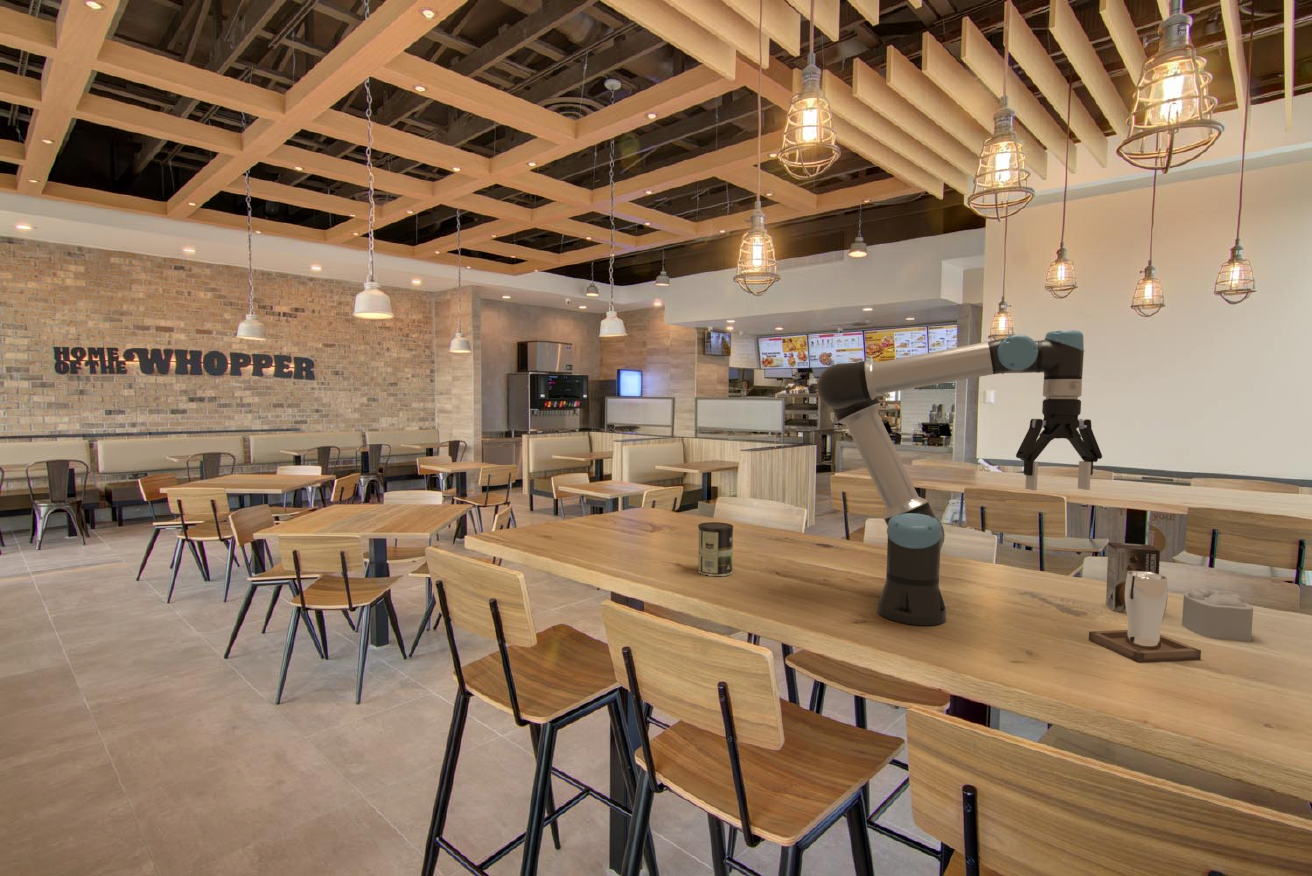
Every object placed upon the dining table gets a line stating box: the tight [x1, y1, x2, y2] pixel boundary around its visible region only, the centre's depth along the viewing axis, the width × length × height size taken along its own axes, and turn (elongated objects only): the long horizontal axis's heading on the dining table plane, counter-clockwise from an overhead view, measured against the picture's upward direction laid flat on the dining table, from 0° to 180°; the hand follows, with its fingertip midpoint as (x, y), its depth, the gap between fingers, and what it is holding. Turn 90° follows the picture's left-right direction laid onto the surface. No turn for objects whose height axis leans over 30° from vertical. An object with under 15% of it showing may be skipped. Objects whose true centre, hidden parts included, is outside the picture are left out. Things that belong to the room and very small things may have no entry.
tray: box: [1088, 629, 1202, 663], centre depth 131 cm, size 14×12×2 cm
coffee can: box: [697, 521, 734, 577], centre depth 187 cm, size 10×10×14 cm
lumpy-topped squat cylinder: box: [1181, 588, 1254, 642], centre depth 143 cm, size 10×13×9 cm
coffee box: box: [1105, 541, 1161, 614], centre depth 156 cm, size 9×6×16 cm
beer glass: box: [1125, 571, 1169, 651], centre depth 130 cm, size 7×7×15 cm
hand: (1057, 489), depth 147 cm, fingers open, 13 cm apart
